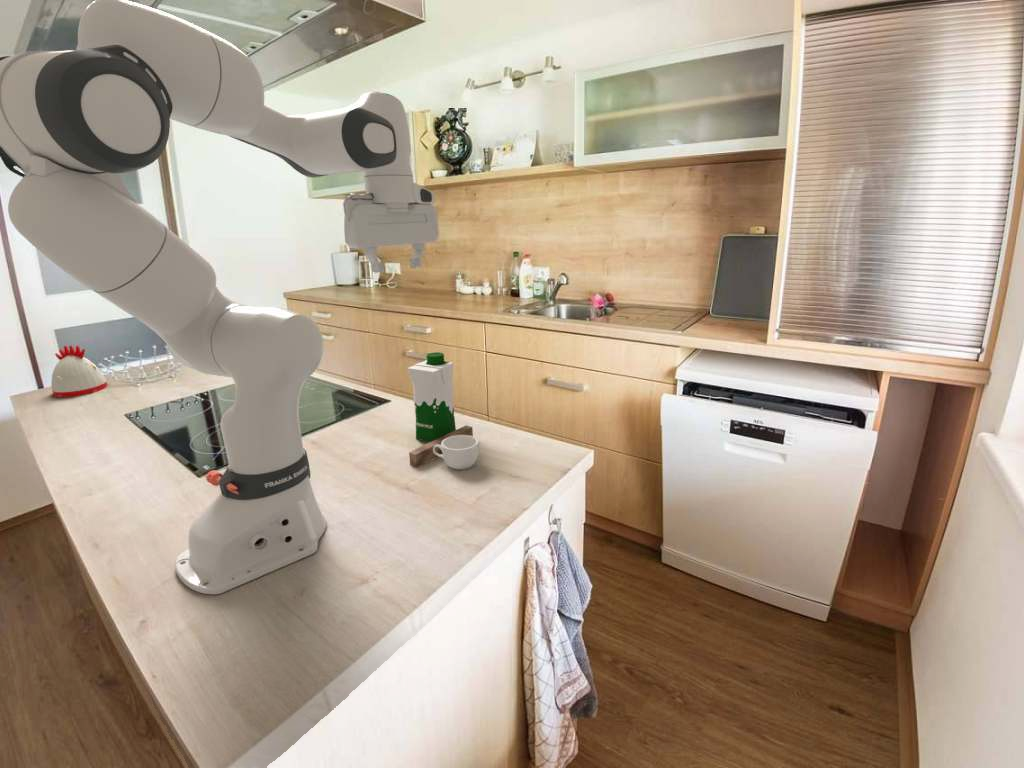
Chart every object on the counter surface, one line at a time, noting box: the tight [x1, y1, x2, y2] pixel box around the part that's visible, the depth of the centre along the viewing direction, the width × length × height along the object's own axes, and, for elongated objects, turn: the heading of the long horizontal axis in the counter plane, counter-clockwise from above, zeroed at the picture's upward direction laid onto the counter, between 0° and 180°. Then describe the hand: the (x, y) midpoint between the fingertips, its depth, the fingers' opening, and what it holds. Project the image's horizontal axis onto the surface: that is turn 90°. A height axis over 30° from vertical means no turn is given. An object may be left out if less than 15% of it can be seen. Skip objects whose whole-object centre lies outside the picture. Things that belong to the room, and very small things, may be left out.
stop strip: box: [408, 424, 474, 468], centre depth 116 cm, size 18×2×3 cm, turn 142°
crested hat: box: [50, 344, 108, 398], centre depth 166 cm, size 14×14×15 cm
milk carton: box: [407, 352, 457, 443], centre depth 122 cm, size 9×9×20 cm
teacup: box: [433, 435, 479, 471], centre depth 110 cm, size 10×8×5 cm
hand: (397, 269), depth 100 cm, fingers open, 8 cm apart
